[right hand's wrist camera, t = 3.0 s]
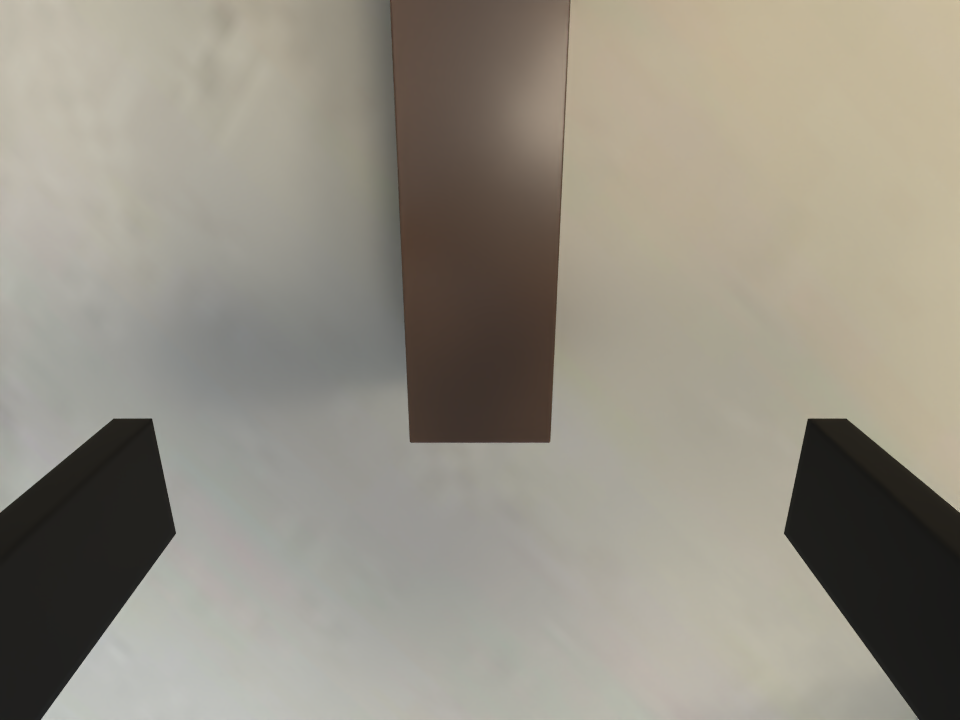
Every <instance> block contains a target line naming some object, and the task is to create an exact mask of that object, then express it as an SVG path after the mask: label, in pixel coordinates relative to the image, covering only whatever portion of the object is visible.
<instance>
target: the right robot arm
mask: <svg viewBox="0 0 960 720" xmlns="http://www.w3.org/2000/svg"><path fill="white" fill-rule="evenodd" d="M175 534H176V531H175V526H174V522H173V517H172V512H171V507H170V502H169V498H168V493H167V488H166V483H165V478H164V474H163V469H162V464H161V459H160V454H159V450H158V445H157V440H156V435H155V431H154V426H153V421H152V419H113V420H112V421H110V422H109V423H108V424H107V425H106V426H104V427H103V428H102V429H101V430H99V431H98V432H97V433H96V434H95V435H93V436H92V437H91V438H90V439H89V440H87V441H86V442H85V443H84V444H83V445H81V446H80V447H79V448H78V449H77V450H75V451H74V452H73V453H72V454H71V455H69V456H68V457H67V458H66V459H65V460H63V461H62V462H61V463H60V464H59V465H57V466H56V467H55V468H54V469H52V470H51V471H50V472H49V473H48V474H46V475H45V476H44V477H43V478H42V479H40V480H39V481H38V482H37V483H36V484H34V485H33V486H32V487H31V488H30V489H28V490H27V491H26V492H25V493H24V494H22V495H21V496H20V497H19V498H18V499H16V500H15V501H14V502H13V503H11V504H10V505H9V506H8V507H7V508H5V509H4V510H3V511H2V512H1V513H0V720H41V719H42V717H43V716H44V714H45V713H46V712H47V710H48V709H49V708H50V706H51V705H52V703H53V702H54V701H55V699H56V698H57V697H58V695H59V694H60V692H61V691H62V690H63V688H64V687H65V686H66V684H67V683H68V681H69V680H70V679H71V677H72V676H73V675H74V673H75V672H76V670H77V669H78V668H79V666H80V665H81V664H82V662H83V661H84V659H85V658H86V657H87V655H88V654H89V653H90V651H91V650H92V648H93V647H94V646H95V644H96V643H97V642H98V640H99V639H100V637H101V636H102V635H103V633H104V632H105V631H106V629H107V628H108V626H109V625H110V624H111V622H112V621H113V619H114V618H115V617H116V615H117V614H118V613H119V611H120V610H121V608H122V607H123V606H124V604H125V603H126V602H127V600H128V599H129V597H130V596H131V595H132V593H133V592H134V591H135V589H136V588H137V586H138V585H139V584H140V582H141V581H142V580H143V578H144V577H145V575H146V574H147V573H148V571H149V570H150V569H151V567H152V566H153V564H154V563H155V562H156V560H157V559H158V558H159V556H160V555H161V553H162V552H163V551H164V549H165V548H166V547H167V545H168V544H169V542H170V541H171V540H172V538H173V537H174V536H175ZM784 534H785V536H786V537H787V538H788V540H789V541H790V542H791V544H792V545H793V547H794V548H795V549H796V551H797V552H798V553H799V555H800V556H801V558H802V559H803V560H804V562H805V563H806V564H807V566H808V567H809V569H810V570H811V571H812V573H813V574H814V575H815V577H816V578H817V580H818V581H819V582H820V584H821V585H822V586H823V588H824V589H825V591H826V592H827V593H828V595H829V596H830V597H831V599H832V600H833V602H834V603H835V604H836V606H837V607H838V608H839V610H840V611H841V613H842V614H843V615H844V617H845V618H846V619H847V621H848V622H849V624H850V625H851V626H852V628H853V629H854V631H855V632H856V633H857V635H858V636H859V637H860V639H861V640H862V642H863V643H864V644H865V646H866V647H867V648H868V650H869V651H870V653H871V654H872V655H873V657H874V658H875V659H876V661H877V662H878V664H879V665H880V666H881V668H882V669H883V670H884V672H885V673H886V675H887V676H888V677H889V679H890V680H891V681H892V683H893V684H894V686H895V687H896V688H897V690H898V691H899V692H900V694H901V695H902V697H903V698H904V699H905V701H906V702H907V703H908V705H909V706H910V708H911V709H912V710H913V712H914V713H915V714H916V716H917V717H918V719H919V720H960V513H959V512H958V511H957V510H956V509H955V508H953V507H952V506H951V505H950V504H949V503H947V502H946V501H945V500H944V499H942V498H941V497H940V496H939V495H938V494H936V493H935V492H934V491H933V490H932V489H930V488H929V487H928V486H927V485H926V484H924V483H923V482H922V481H921V480H920V479H918V478H917V477H916V476H915V475H914V474H912V473H911V472H910V471H909V470H908V469H906V468H905V467H904V466H903V465H901V464H900V463H899V462H898V461H897V460H895V459H894V458H893V457H892V456H891V455H889V454H888V453H887V452H886V451H885V450H883V449H882V448H881V447H880V446H879V445H877V444H876V443H875V442H874V441H873V440H871V439H870V438H869V437H868V436H867V435H865V434H864V433H863V432H862V431H861V430H859V429H858V428H857V427H856V426H854V425H853V424H852V423H851V422H850V421H848V420H847V419H808V421H807V426H806V431H805V435H804V440H803V445H802V450H801V454H800V459H799V464H798V469H797V474H796V478H795V483H794V488H793V493H792V498H791V502H790V507H789V512H788V517H787V522H786V526H785V531H784Z"/></svg>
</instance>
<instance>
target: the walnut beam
mask: <svg viewBox="0 0 960 720" xmlns="http://www.w3.org/2000/svg"><path fill="white" fill-rule="evenodd" d="M390 11H391V33H392V56H393V78H394V100H395V122H396V145H397V167H398V189H399V211H400V233H401V256H402V278H403V300H404V322H405V345H406V367H407V389H408V411H409V434H410V442H411V443H549V442H550V435H551V413H552V391H553V369H554V347H555V326H556V304H557V282H558V260H559V238H560V216H561V194H562V172H563V150H564V128H565V106H566V84H567V62H568V40H569V18H570V0H390Z"/></svg>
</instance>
